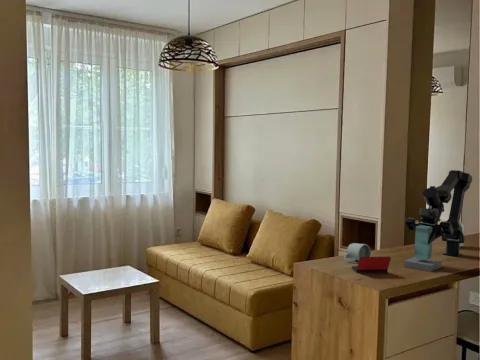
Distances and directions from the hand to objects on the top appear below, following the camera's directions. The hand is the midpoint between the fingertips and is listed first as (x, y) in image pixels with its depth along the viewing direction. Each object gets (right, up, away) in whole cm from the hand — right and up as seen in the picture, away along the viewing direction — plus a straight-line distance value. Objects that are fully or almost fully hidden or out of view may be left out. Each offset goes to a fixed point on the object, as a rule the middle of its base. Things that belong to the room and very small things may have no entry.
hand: (422, 242), depth 190 cm
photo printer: (+34, -8, +43) cm, 56 cm away
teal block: (+1, -7, +2) cm, 7 cm away
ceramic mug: (-24, -10, +11) cm, 28 cm away
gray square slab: (+1, -10, +2) cm, 11 cm away
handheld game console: (-23, -11, -7) cm, 27 cm away
